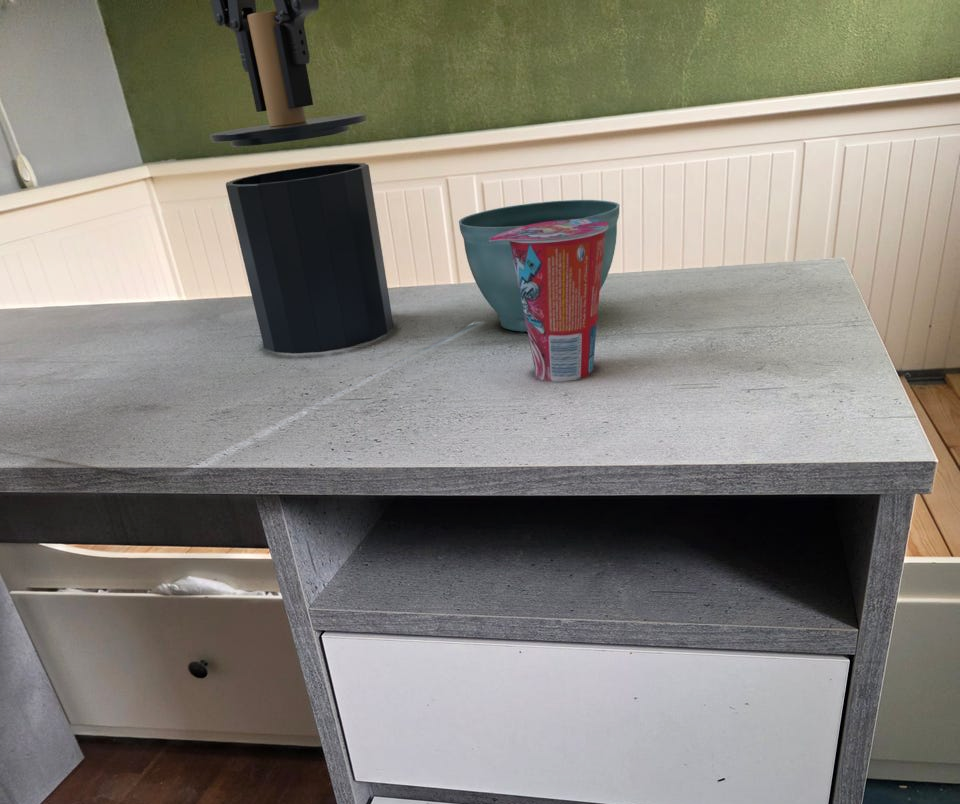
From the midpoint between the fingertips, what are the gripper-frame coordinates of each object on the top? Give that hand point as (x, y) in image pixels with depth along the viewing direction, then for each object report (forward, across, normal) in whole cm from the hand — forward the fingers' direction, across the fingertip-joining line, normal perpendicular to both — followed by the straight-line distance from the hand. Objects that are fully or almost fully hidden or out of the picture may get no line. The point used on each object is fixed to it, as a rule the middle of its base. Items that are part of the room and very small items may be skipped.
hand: (284, 107), depth 86 cm
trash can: (+22, 0, 0) cm, 22 cm away
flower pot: (+22, -22, -10) cm, 33 cm away
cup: (+22, -32, +6) cm, 40 cm away
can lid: (+2, 0, 0) cm, 2 cm away
